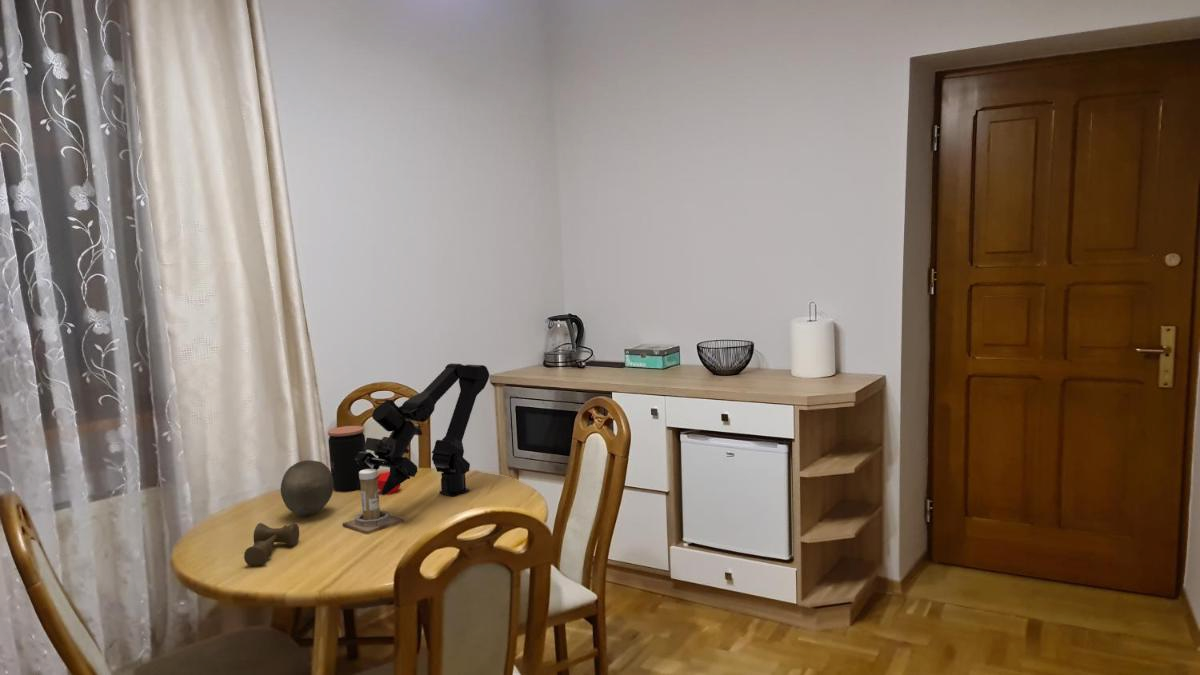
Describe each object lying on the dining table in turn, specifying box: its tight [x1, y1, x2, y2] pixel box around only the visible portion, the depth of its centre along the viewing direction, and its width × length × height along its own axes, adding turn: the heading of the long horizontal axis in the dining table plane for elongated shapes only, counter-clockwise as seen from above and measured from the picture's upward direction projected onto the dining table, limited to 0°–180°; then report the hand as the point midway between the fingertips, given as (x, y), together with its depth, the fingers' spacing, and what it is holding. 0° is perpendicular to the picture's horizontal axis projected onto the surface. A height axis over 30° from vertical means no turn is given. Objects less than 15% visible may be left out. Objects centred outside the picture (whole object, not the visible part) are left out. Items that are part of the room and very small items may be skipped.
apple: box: [377, 471, 401, 495], centre depth 236 cm, size 7×7×8 cm
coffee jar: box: [327, 425, 367, 493], centre depth 242 cm, size 11×11×18 cm
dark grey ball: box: [280, 459, 334, 517], centre depth 217 cm, size 14×14×15 cm
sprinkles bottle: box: [359, 469, 381, 520], centre depth 207 cm, size 5×5×14 cm
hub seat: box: [342, 510, 405, 535], centre depth 207 cm, size 11×11×2 cm
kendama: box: [243, 522, 300, 568], centre depth 191 cm, size 6×10×20 cm
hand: (370, 492), depth 206 cm, fingers open, 9 cm apart
